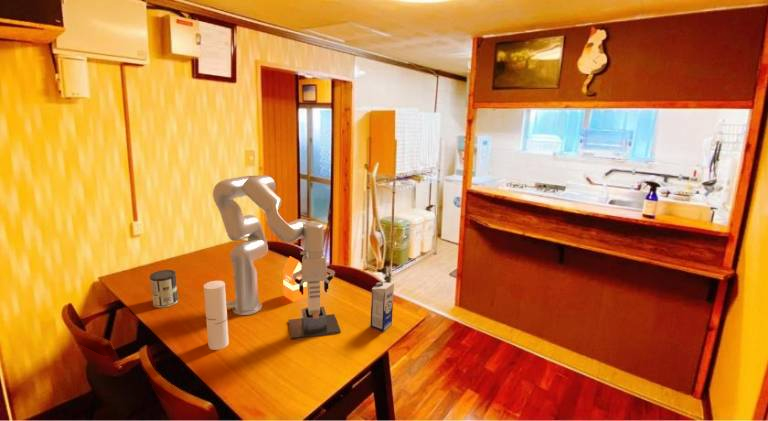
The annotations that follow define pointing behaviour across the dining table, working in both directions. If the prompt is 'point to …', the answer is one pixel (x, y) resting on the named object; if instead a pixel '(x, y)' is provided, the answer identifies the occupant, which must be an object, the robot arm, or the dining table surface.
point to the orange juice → (289, 283)
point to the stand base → (313, 325)
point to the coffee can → (164, 288)
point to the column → (314, 297)
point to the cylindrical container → (216, 314)
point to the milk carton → (382, 306)
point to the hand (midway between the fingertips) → (313, 292)
